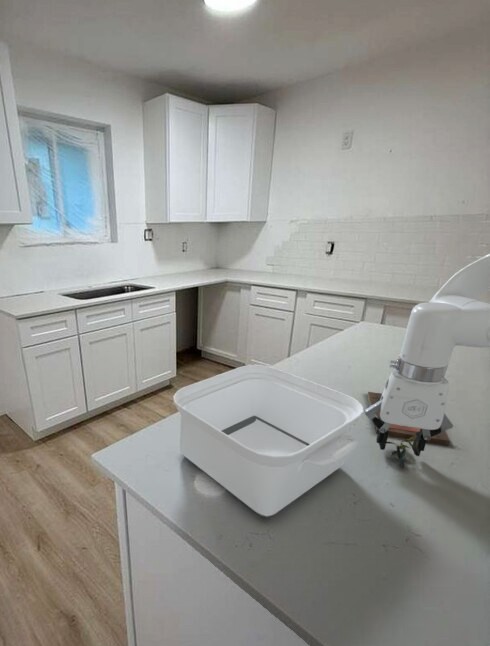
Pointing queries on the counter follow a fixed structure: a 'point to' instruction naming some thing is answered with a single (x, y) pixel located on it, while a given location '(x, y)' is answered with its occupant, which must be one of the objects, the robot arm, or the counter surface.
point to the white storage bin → (265, 433)
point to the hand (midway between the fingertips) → (398, 448)
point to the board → (403, 430)
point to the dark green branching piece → (402, 454)
